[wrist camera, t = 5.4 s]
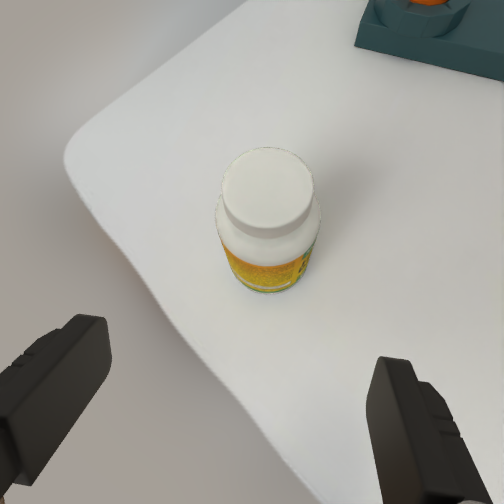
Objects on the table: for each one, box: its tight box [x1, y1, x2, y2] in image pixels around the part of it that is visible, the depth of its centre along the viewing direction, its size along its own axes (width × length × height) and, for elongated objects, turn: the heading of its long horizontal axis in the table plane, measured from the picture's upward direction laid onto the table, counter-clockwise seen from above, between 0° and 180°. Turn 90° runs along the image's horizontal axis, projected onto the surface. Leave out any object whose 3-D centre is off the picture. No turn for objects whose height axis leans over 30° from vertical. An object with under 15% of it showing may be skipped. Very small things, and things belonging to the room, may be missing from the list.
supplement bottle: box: [215, 147, 321, 294], centre depth 19 cm, size 5×5×10 cm
